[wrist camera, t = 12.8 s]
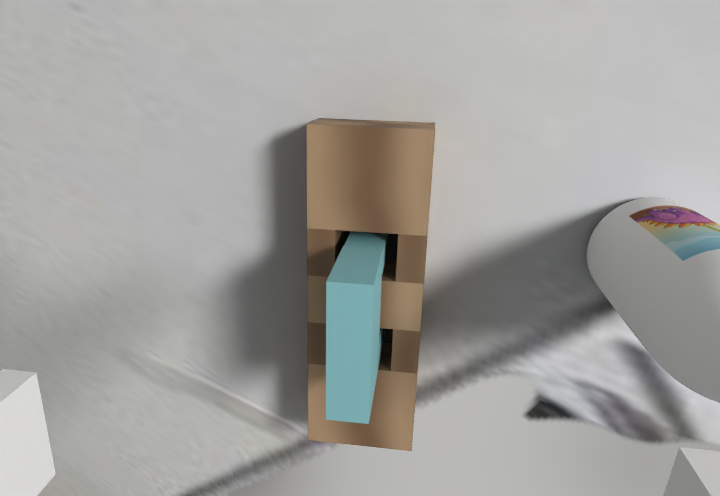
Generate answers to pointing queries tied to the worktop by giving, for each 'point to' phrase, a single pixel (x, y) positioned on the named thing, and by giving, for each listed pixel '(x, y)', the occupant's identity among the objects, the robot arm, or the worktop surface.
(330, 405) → the clip
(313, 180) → the wooden slotted block
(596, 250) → the milk bottle
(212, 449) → the worktop surface
